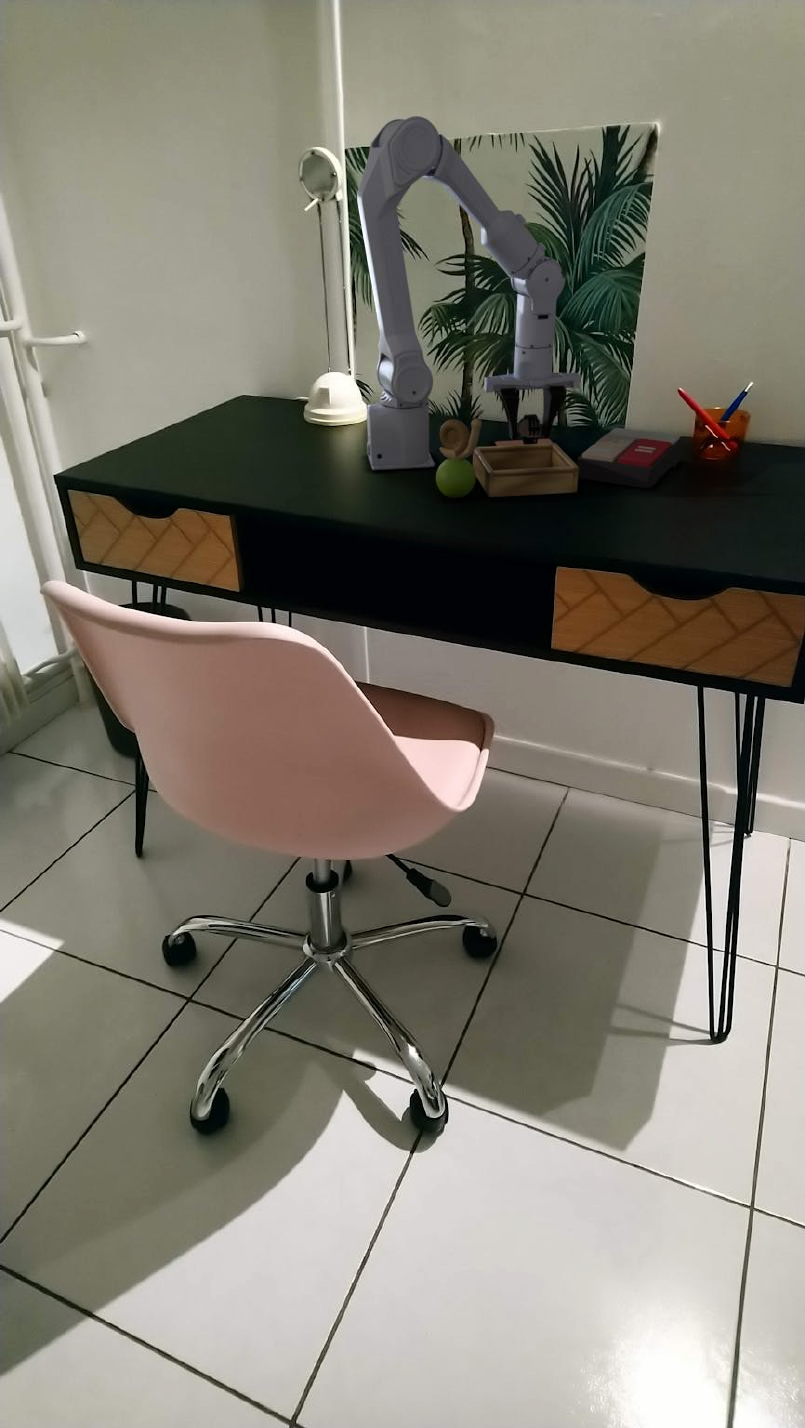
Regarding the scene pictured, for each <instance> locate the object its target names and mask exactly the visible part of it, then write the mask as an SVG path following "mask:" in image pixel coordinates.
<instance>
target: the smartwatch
mask: <svg viewBox="0 0 805 1428" xmlns="http://www.w3.org/2000/svg"><path fill="white" fill-rule="evenodd" d="M538 417H539V416H538V415H537V414H536V413H532V414H530V413H529V414H524V415H523V417H522V418H520V420H519V421H518V422H517V435H519V436H520V437H521V440H523V443H524V445H529V444H537V442H538V439H539V437H540V436H541V420H540V419H539V418H538ZM534 440H536V441H534Z"/></svg>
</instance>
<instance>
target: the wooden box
mask: <svg viewBox="0 0 805 1428" xmlns="http://www.w3.org/2000/svg"><path fill="white" fill-rule="evenodd" d="M472 466H473V468H474V470H475V474H476V479H477V480H478V482H479V484H480V486H482V488H483V490H484V492H485V493H486V495H487V496H488V498H501V497H520V496H521V497H522V496H537V495H538V496H539V495H552V494H553V495H554V494H569V493H570V494H571V493H578V484H579V478H578V473H579V467H578V466H577V463H576V462H574V461H573V460H572V458H571V457H569V455H568V454H567V453H566V452H565V451H564V450H563V449H562V447H560V446H559V445H558V444H557V443H556V442H553V443H548V444H529V445H509V446H496V445H495V446H494V445H492V446H476V448H475V450H474V452H473V453H472Z"/></svg>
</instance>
